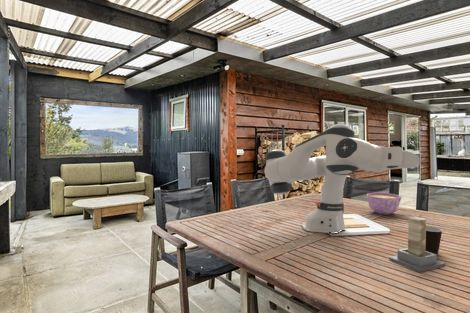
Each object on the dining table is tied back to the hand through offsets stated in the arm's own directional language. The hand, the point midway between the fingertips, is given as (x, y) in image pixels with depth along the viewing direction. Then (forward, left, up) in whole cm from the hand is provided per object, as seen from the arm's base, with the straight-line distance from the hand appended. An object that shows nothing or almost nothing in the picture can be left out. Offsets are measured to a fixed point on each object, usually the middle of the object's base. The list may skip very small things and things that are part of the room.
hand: (399, 167), depth 105 cm
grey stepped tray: (+8, +1, -36) cm, 37 cm away
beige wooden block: (+8, +1, -35) cm, 36 cm away
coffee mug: (+19, +14, -37) cm, 44 cm away
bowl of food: (+29, +79, -37) cm, 92 cm away
